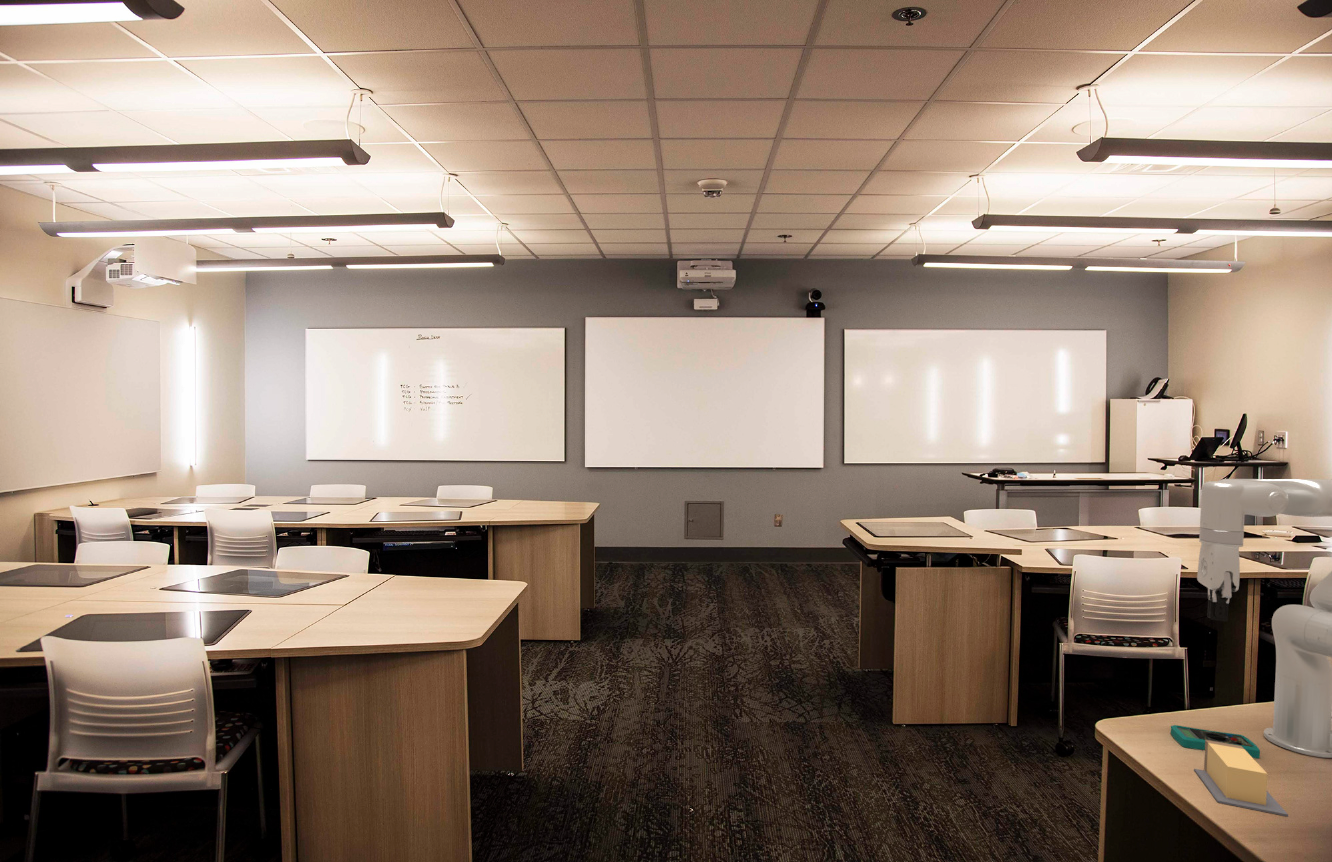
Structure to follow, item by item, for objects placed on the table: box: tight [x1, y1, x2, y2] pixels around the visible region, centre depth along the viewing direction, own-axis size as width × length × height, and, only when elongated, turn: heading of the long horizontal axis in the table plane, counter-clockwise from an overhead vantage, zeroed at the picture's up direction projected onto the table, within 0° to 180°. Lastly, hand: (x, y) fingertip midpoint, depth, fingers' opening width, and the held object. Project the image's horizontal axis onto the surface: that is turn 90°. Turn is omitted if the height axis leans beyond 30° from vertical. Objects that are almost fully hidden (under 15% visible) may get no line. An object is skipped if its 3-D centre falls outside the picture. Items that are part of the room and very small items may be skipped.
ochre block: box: [1203, 740, 1268, 805], centre depth 133 cm, size 6×6×12 cm
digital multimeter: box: [1170, 724, 1261, 760], centre depth 151 cm, size 7×15×3 cm, turn 72°
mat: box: [1193, 768, 1289, 818], centre depth 132 cm, size 10×13×1 cm
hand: (1217, 619), depth 149 cm, fingers closed
